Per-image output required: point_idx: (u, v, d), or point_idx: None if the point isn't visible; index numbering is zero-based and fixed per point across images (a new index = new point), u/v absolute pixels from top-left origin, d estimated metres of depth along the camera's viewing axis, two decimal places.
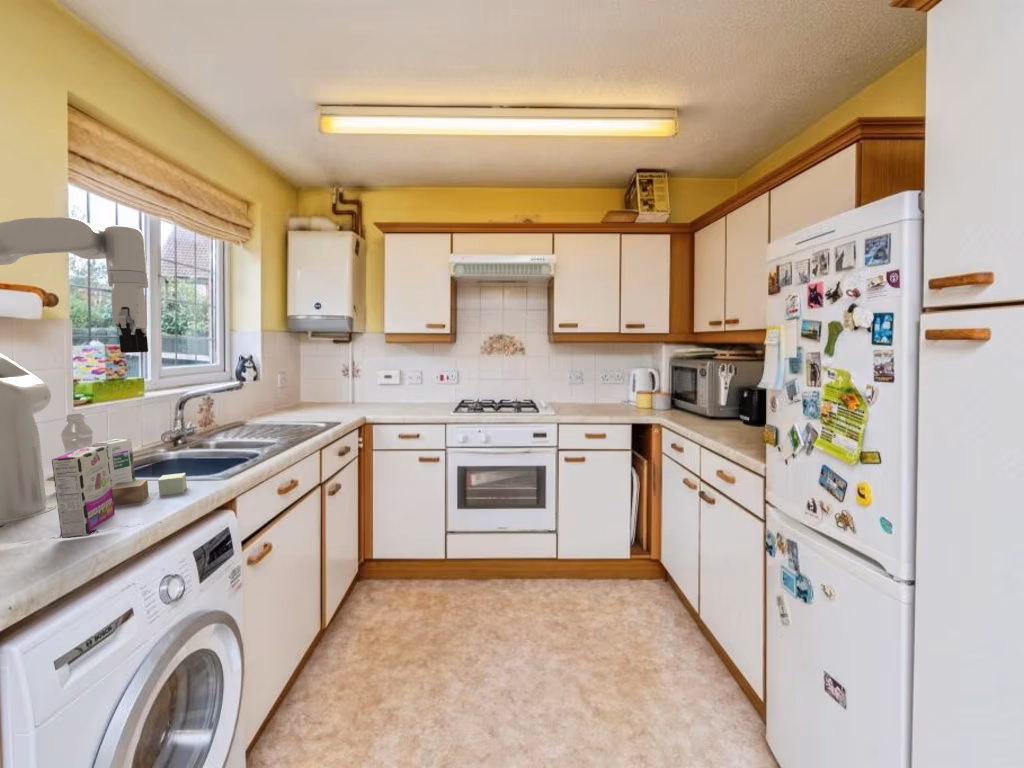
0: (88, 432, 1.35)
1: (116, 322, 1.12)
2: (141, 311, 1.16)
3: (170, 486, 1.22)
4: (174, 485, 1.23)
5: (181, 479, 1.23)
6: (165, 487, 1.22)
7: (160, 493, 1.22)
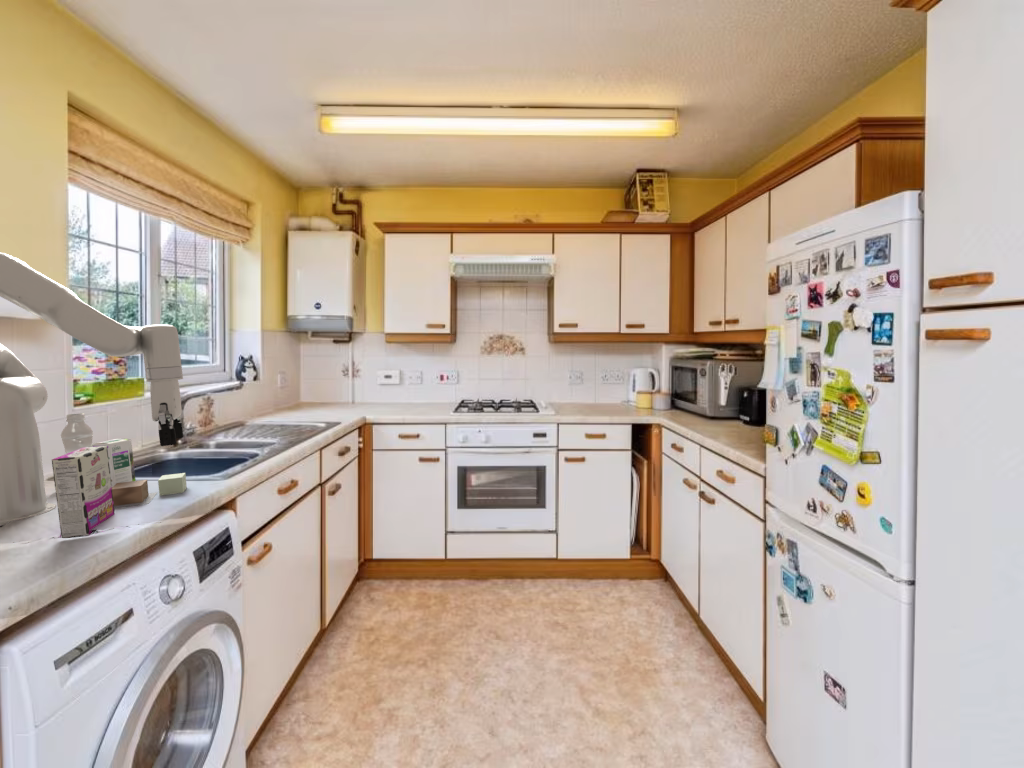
0: (88, 432, 1.35)
1: (155, 418, 1.18)
2: (177, 403, 1.22)
3: (170, 486, 1.22)
4: (174, 485, 1.23)
5: (181, 479, 1.23)
6: (165, 487, 1.22)
7: (160, 493, 1.22)
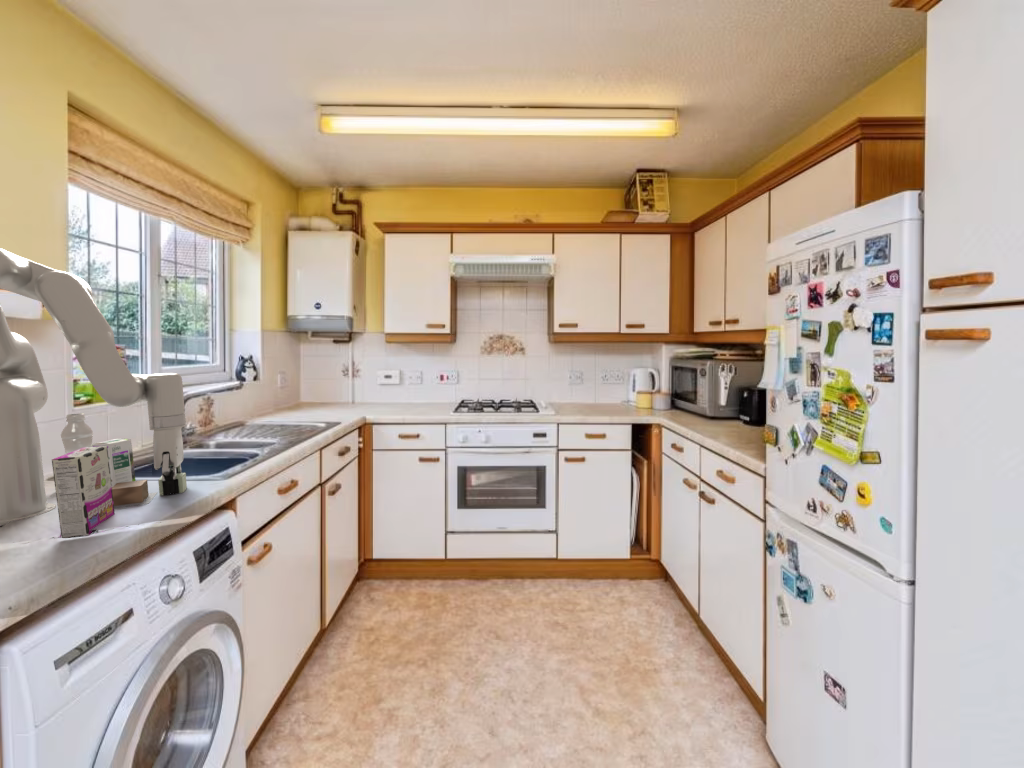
0: (88, 432, 1.35)
1: (157, 466, 1.19)
2: (179, 451, 1.23)
3: None
4: None
5: (181, 479, 1.23)
6: None
7: (160, 493, 1.22)
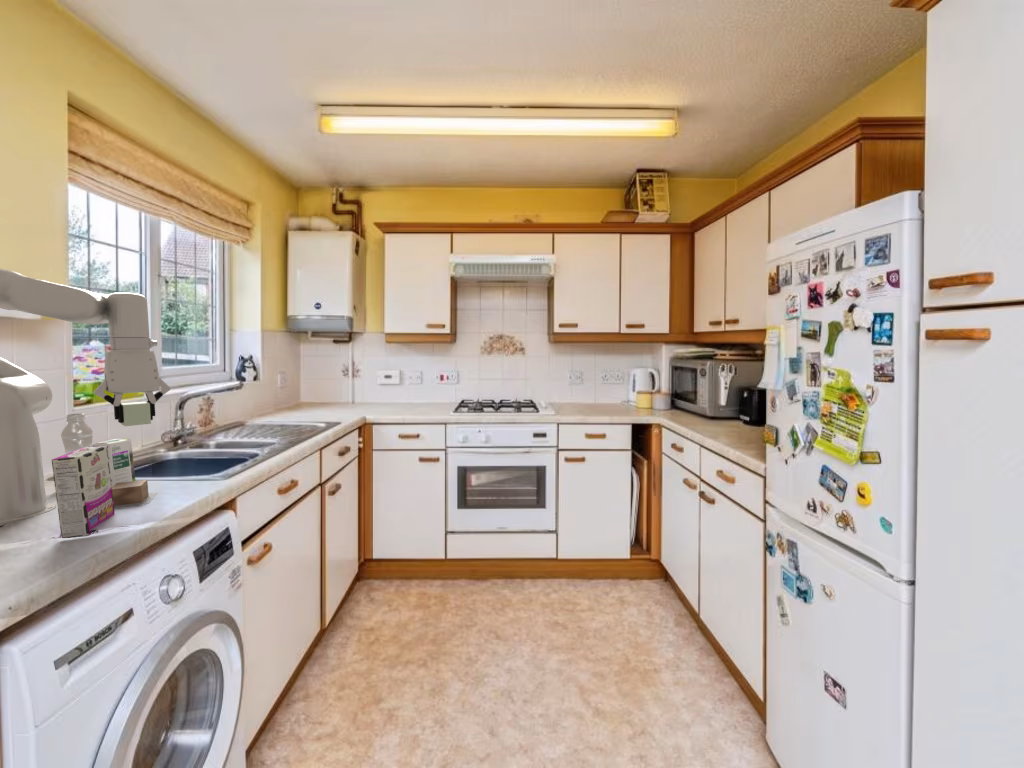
0: (88, 432, 1.35)
1: (105, 388, 1.15)
2: (124, 377, 1.14)
3: None
4: None
5: (124, 407, 1.15)
6: None
7: None
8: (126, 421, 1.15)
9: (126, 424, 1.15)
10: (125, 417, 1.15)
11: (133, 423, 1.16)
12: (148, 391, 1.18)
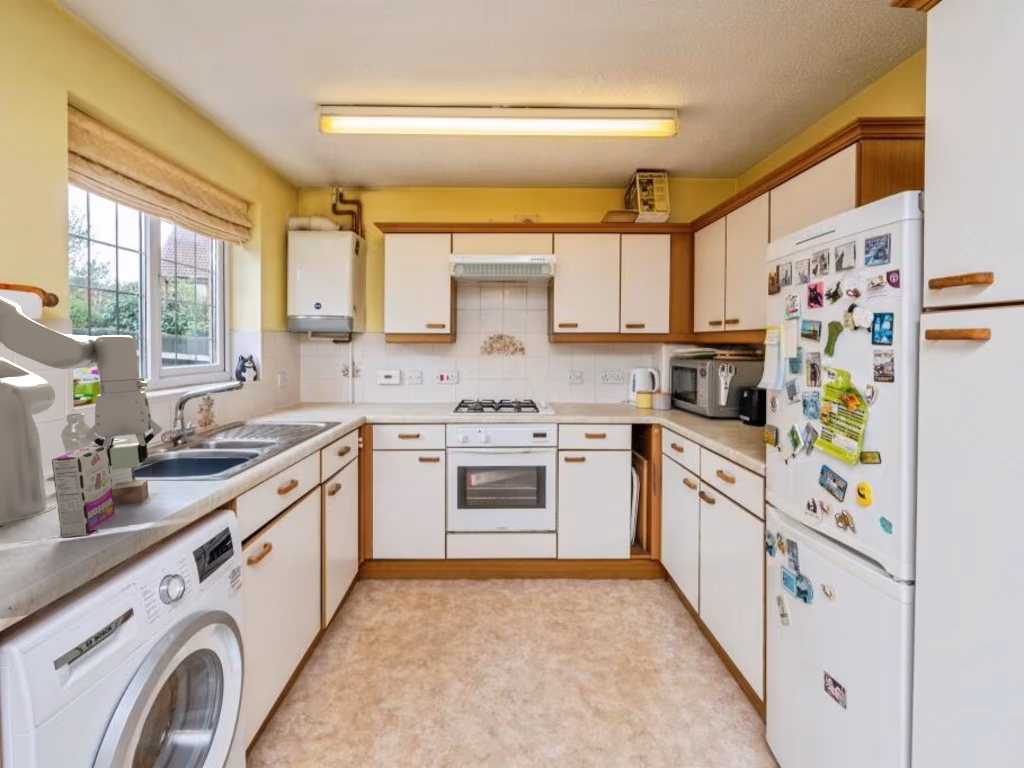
0: None
1: None
2: (110, 420, 1.13)
3: None
4: None
5: (110, 451, 1.14)
6: None
7: None
8: (113, 465, 1.14)
9: (113, 468, 1.14)
10: (112, 461, 1.14)
11: (120, 467, 1.14)
12: (136, 434, 1.16)
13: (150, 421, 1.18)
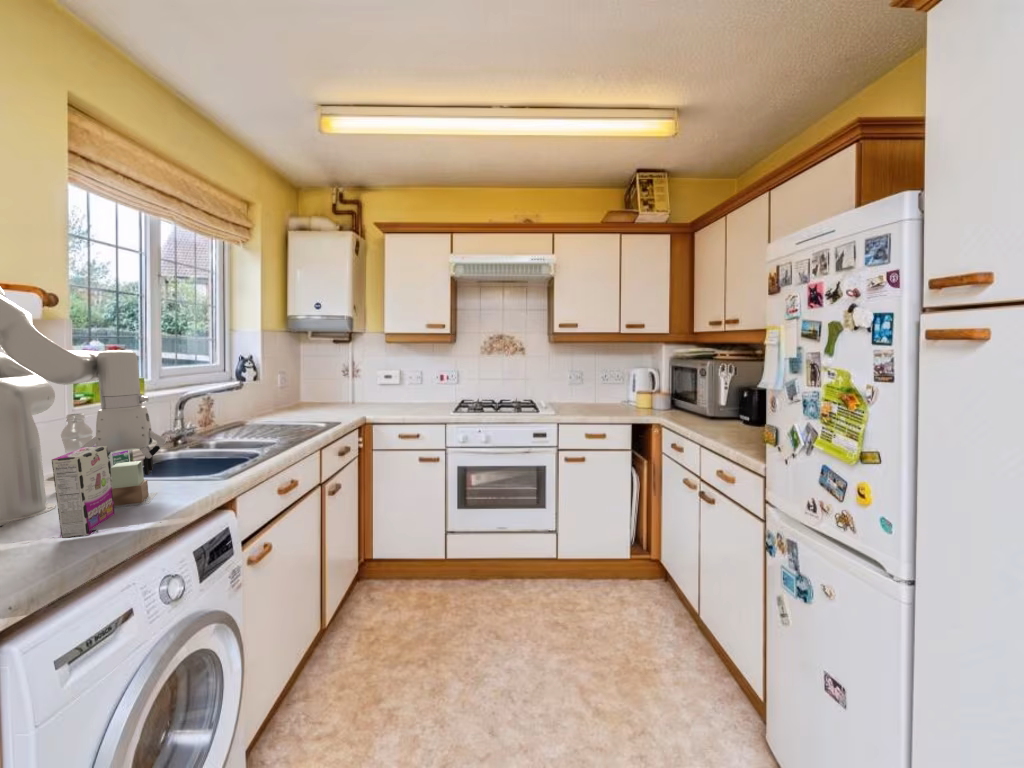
0: (88, 432, 1.35)
1: None
2: (111, 436, 1.14)
3: None
4: None
5: (111, 469, 1.14)
6: None
7: None
8: (113, 483, 1.14)
9: (113, 486, 1.14)
10: (112, 480, 1.14)
11: (120, 485, 1.15)
12: (137, 448, 1.16)
13: (151, 436, 1.18)
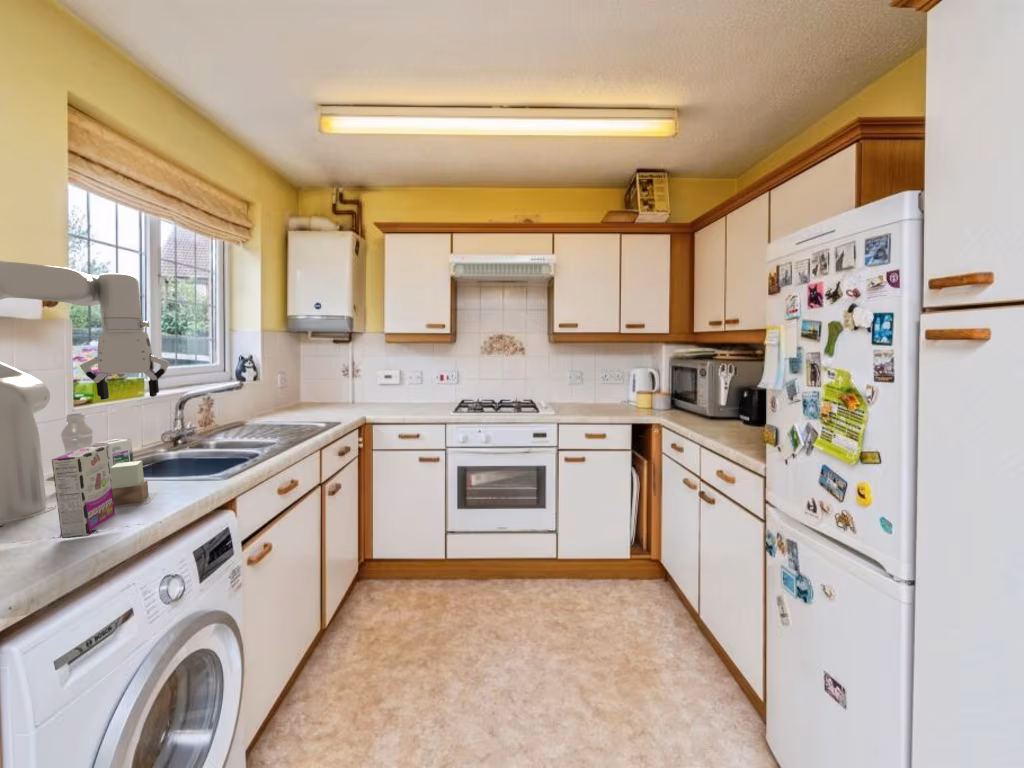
0: (88, 432, 1.35)
1: None
2: (112, 358, 1.15)
3: None
4: None
5: (111, 469, 1.14)
6: None
7: None
8: (113, 483, 1.14)
9: (113, 486, 1.14)
10: (112, 480, 1.14)
11: (120, 485, 1.15)
12: (138, 372, 1.17)
13: (151, 361, 1.19)
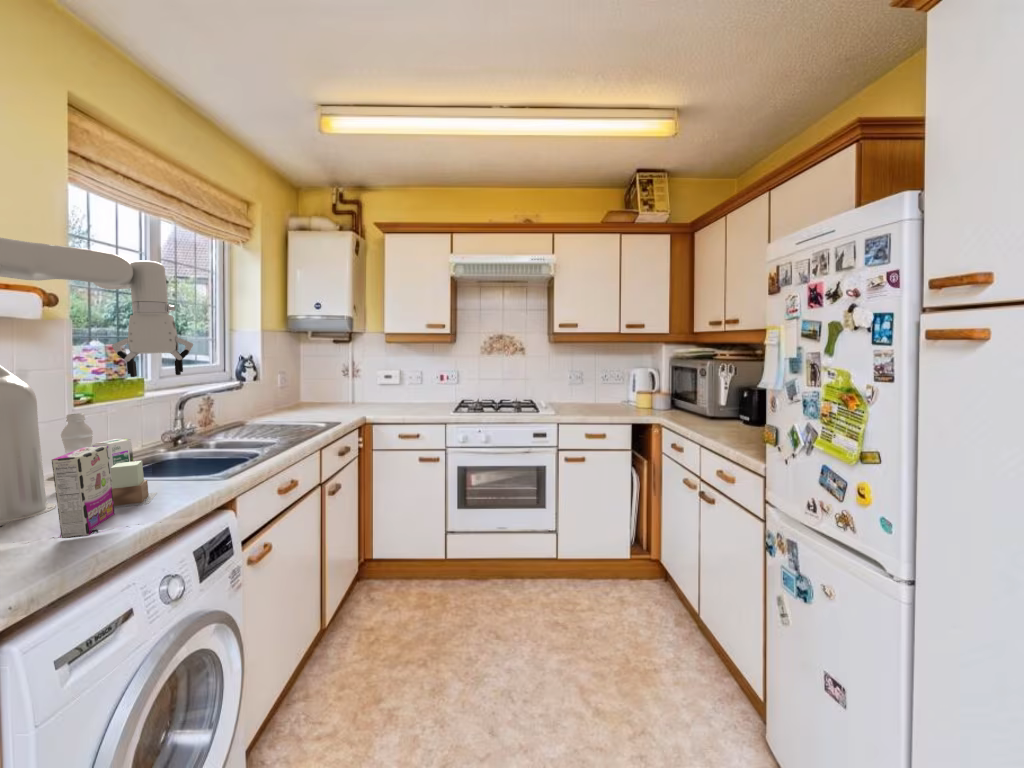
0: (88, 432, 1.35)
1: None
2: (142, 338, 1.25)
3: None
4: None
5: (111, 469, 1.14)
6: None
7: None
8: (113, 483, 1.14)
9: (113, 486, 1.14)
10: (112, 480, 1.14)
11: (120, 485, 1.15)
12: (165, 352, 1.27)
13: (177, 342, 1.29)
